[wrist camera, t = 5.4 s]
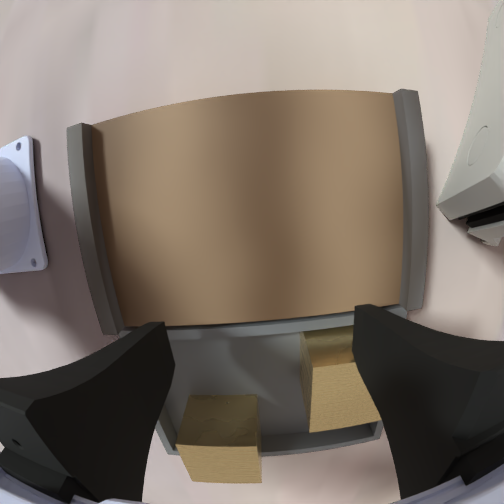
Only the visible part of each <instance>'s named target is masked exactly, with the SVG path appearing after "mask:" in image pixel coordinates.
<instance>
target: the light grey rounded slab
mask: <svg viewBox="0 0 504 504" xmlns="http://www.w3.org/2000/svg"><path fill="white" fill-rule="evenodd" d="M436 206H437V207H438V208H439V210H440V211H441V212H442V213H443V214H444V215H445V216H446V217H447V218H448V219H449V220H453V219H455V218H458V219H463V218H466V217H468V220H467V222H466V224H467V225H468V226H469V230H468V232H467V233H469V234H471V235H474V236H476V237H478V238H480V239H482V241H481V242H482V243H484V244H486V245H492V246H498V245H499V243H500V240H501V238H502V237H504V0H499V2H498V4H497V5H496V7H495V9H494V10H493V12H492V14H491V15H490V17H489V18H488V25H487V33H486V41H485V47H484V53H483V59H482V64H481V69H480V74H479V78H478V83H477V87H476V91H475V95H474V99H473V103H472V107H471V110H470V114H469V117H468V121H467V124H466V127H465V130H464V133H463V137H462V140H461V143H460V146H459V148H458V151H457V154H456V157H455V160H454V162H453V165H452V168H451V170H450V173H449V175H448V178H447V180H446V183H445V185H444V188H443V190H442V193H441V195H440V197H439V199H438V202H437V204H436Z"/></svg>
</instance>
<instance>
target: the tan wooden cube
mask: <svg viewBox="0 0 504 504" xmlns="http://www.w3.org/2000/svg"><path fill="white" fill-rule="evenodd" d="M353 326H354V325H349V326H342V327H334V328H327V329H319V330H310V331H301V332H300V385H301V391H302V396H303V401H304V407H305V412H306V417H307V423H308V429H309V433H311V432H319V431H326V430H332V429H339V428H344V427H350V426H355V425H360V424H365V423H370V422H374V421H379V420H382V419H381V417H380V415H379V412H378V410H377V408H376V406H375V404H374V402H373V400H372V398H371V396H370V394H369V392H368V390H367V388H366V386H365V384H364V382H363V380H362V378H361V376H360V374H359V372H358V369H357V366H356V363H355V360H354V357H353V353H352V341H353Z"/></svg>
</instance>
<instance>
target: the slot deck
mask: <svg viewBox="0 0 504 504" xmlns="http://www.w3.org/2000/svg"><path fill="white" fill-rule="evenodd" d="M67 151H68V165H69V176H70V186H71V195H72V202H73V210H74V216H75V222H76V228H77V234H78V239H79V245H80V250H81V254H82V259H83V264H84V268H85V272H86V277H87V281H88V285H89V288H90V292H91V296H92V300H93V303H94V307H95V310H96V313H97V317H98V320H99V323H100V326H101V329H102V332H103V334H104V335H118V334H119V333H120V332H121V330H122V329H123V328H124V327H125V326H142V325H144V324H146V323H148V322H162V321H164V322H165V326H182V325H206V324H224V323H239V322H253V321H265V320H277V319H287V318H297V317H306V316H315V315H324V314H332V313H340V312H347V311H354V307H355V306H357V305H364V304H372V305H375V306H378V307H381V306H388V305H394V304H400V305H401V306H402V307H403V308H404V309H405V310H406V311H410V310H415V309H420V308H422V303H423V295H424V286H425V276H426V264H427V249H428V218H429V205H428V174H427V159H426V147H425V137H424V129H423V121H422V114H421V107H420V101H419V96H418V91H414V90H406V89H400V90H398V91H396V92H394V93H382V92H369V91H351V90H288V91H270V92H256V93H246V94H236V95H227V96H220V97H212V98H206V99H199V100H193V101H187V102H182V103H177V104H171V105H167V106H162V107H157V108H153V109H148V110H144V111H140V112H136V113H132V114H128V115H124V116H121V117H117V118H113V119H110V120H107V121H103V122H100V123H97V124H94V125H89V124H85V123H79V124H77V125H74V126H71V127H68V128H67Z"/></svg>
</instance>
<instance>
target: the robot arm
mask: <svg viewBox="0 0 504 504" xmlns="http://www.w3.org/2000/svg"><path fill="white" fill-rule="evenodd" d="M20 145H21V149H20ZM35 260H36V263H35ZM47 266H48V259H47V255H46V250H45V245H44V240H43V235H42V229H41V224H40V217H39V211H38V203H37V195H36V186H35V175H34V161H33V140H32V138H31V137H30V136H23V137H21V138H19V139H17V140H15V141H13V142H11V143H9V144H7V145H5V146H4V147H2V148H0V274H5V273H16V272H27V271H38V270H43V269H45V268H46V267H47ZM352 353H353V357H354V360H355V363H356V366H357V369H358V372H359V374H360V376H361V378H362V380H363V382H364V384H365V386H366V388H367V390H368V392H369V394H370V396H371V398H372V400H373V402H374V404H375V406H376V408H377V410H378V412H379V415H380V417H381V419H382V422H383V425H384V428H385V431H386V434H387V438H388V441H389V445H390V448H391V452H392V456H393V460H394V464H395V469H396V473H397V478H398V483H399V490H400V496H401V500H399V501H396V502H393V503H390V504H504V341H487V340H477V339H471V338H465V337H459V336H454V335H450V334H447V333H443V332H439V331H436V330H433V329H430V328H427V327H425V326H422V325H419V324H417V323H414V322H412V321H409V320H407V319H405V318H402V317H400V316H398V315H396V314H394V313H391V312H389V311H387V310H385V309H383V308H380V307H378V306H375V305H372V304H364V305H357V306H355V307H354V326H353V341H352ZM175 365H176V364H175V361H174V357H173V353H172V350H171V346H170V342H169V338H168V334H167V330H166V326H165V322H164V321H162V322H148V323H146V324H144V325H142V326H140V327H138V328H137V329H135V330H133V331H132V332H130V333H128V334H127V335H125V336H123V337H122V338H120V339H118V340H117V341H115V342H113V343H112V344H110V345H108V346H106V347H104V348H103V349H101V350H99V351H97V352H95V353H93V354H91V355H89V356H87V357H85V358H83V359H80V360H78V361H76V362H73V363H71V364H68V365H65V366H62V367H59V368H56V369H52V370H49V371H46V372H41V373H37V374H32V375H27V376H20V377H10V378H0V442H1V443H2V445H3V446H4V447H5V448H4V449H3V451H2V452H0V504H148V503H143V502H142V493H143V485H144V476H145V470H146V464H147V459H148V454H149V449H150V444H151V440H152V436H153V433H154V429H155V426H156V424H157V421H158V419H159V416H160V413H161V411H162V408H163V406H164V403H165V400H166V398H167V395H168V393H169V390H170V387H171V384H172V380H173V375H174V370H175Z"/></svg>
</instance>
